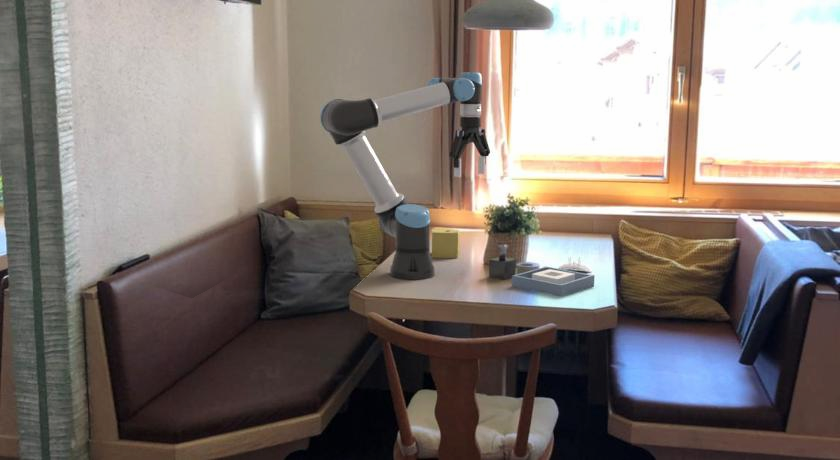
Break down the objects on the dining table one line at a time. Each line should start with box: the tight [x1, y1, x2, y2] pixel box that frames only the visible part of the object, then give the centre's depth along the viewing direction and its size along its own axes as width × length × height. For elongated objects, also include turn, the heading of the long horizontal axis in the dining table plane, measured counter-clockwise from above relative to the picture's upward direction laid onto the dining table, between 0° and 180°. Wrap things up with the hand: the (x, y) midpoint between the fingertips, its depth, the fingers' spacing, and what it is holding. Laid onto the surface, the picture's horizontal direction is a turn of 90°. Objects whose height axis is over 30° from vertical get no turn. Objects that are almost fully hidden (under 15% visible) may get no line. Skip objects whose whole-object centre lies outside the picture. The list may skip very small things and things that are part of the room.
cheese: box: [431, 226, 461, 259], centre depth 326 cm, size 10×11×10 cm
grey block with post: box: [488, 243, 517, 281], centre depth 292 cm, size 6×6×11 cm
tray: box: [511, 266, 596, 297], centre depth 280 cm, size 19×19×4 cm
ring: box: [532, 269, 575, 284], centre depth 280 cm, size 10×12×3 cm
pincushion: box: [557, 256, 593, 272], centre depth 301 cm, size 12×6×6 cm, turn 73°
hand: (469, 175), depth 311 cm, fingers open, 13 cm apart
